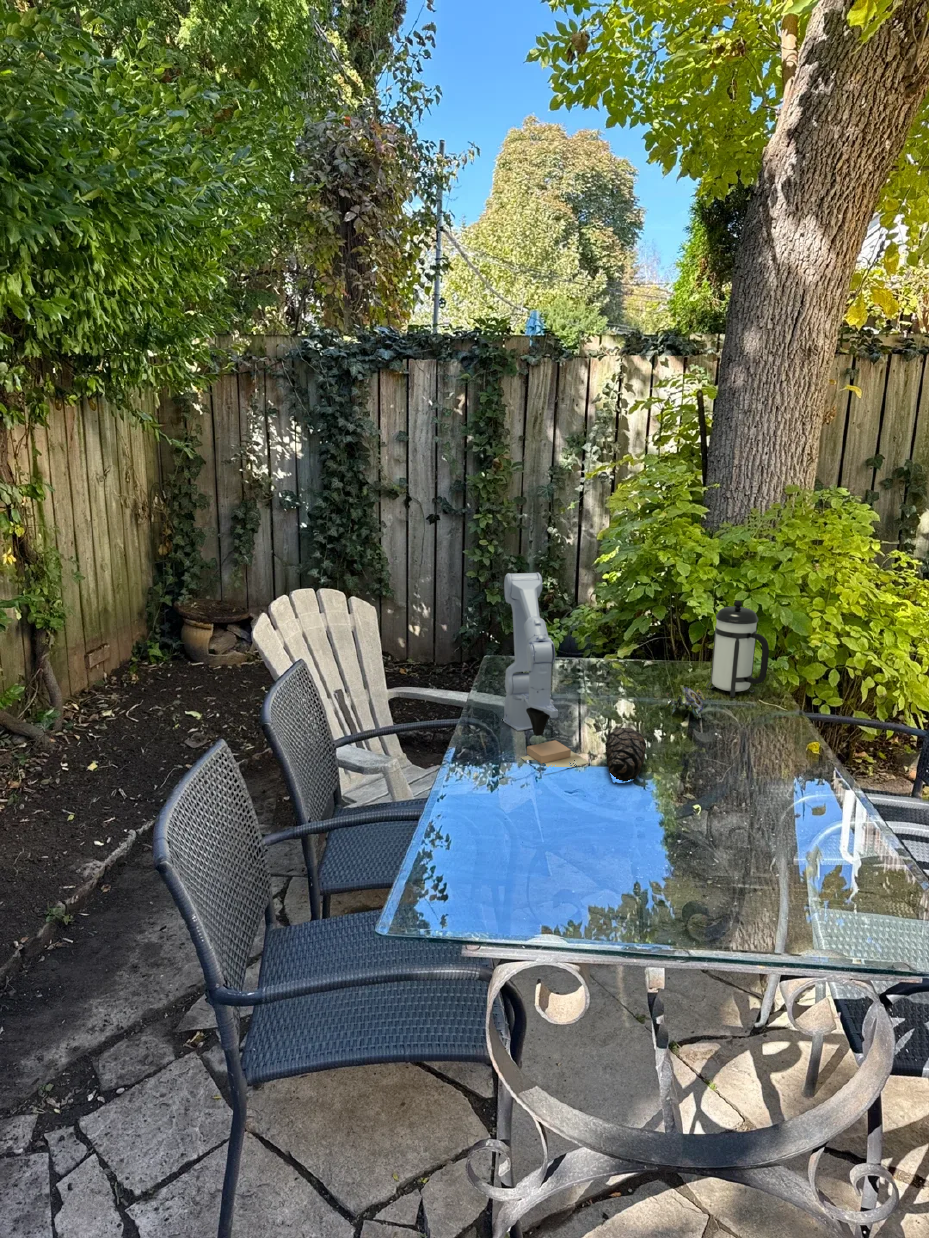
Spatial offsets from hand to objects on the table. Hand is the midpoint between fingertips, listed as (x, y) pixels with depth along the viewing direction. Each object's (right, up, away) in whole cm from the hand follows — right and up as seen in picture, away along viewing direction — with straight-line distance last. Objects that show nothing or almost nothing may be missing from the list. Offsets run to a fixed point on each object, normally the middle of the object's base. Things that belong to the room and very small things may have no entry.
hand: (538, 734), depth 211 cm
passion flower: (+46, +2, +25) cm, 52 cm away
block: (+1, -3, -1) cm, 3 cm away
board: (+4, -6, -6) cm, 9 cm away
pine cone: (+21, -8, -11) cm, 25 cm away
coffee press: (+68, +7, +46) cm, 83 cm away
